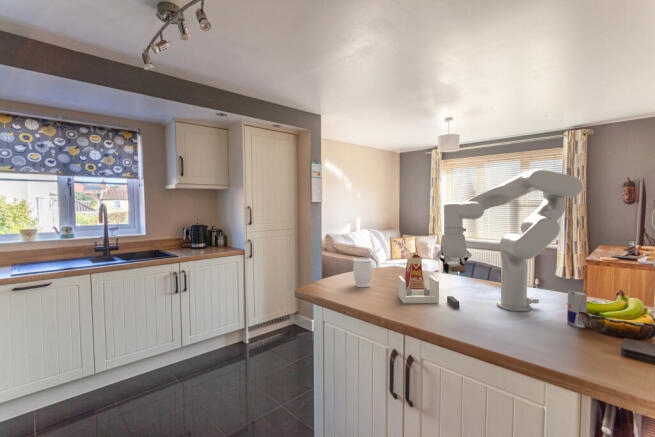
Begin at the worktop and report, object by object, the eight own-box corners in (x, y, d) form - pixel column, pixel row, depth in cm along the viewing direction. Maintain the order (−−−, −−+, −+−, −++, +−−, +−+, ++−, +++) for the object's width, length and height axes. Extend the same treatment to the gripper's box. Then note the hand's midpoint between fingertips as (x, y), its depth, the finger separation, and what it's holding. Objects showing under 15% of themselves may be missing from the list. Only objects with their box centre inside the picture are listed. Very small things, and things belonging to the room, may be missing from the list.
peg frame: (431, 295, 151) (431, 275, 150) (438, 303, 140) (438, 281, 139) (398, 295, 151) (398, 275, 151) (403, 303, 140) (403, 281, 140)
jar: (350, 284, 175) (350, 257, 174) (367, 282, 178) (366, 256, 177) (357, 289, 165) (357, 261, 164) (375, 287, 168) (375, 259, 167)
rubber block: (452, 302, 140) (452, 296, 140) (459, 308, 132) (459, 301, 132) (447, 302, 140) (447, 296, 140) (453, 308, 132) (453, 301, 132)
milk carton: (425, 290, 160) (425, 252, 159) (407, 290, 160) (407, 252, 159) (420, 286, 169) (420, 249, 168) (403, 286, 169) (403, 249, 168)
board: (442, 266, 141) (442, 261, 141) (455, 265, 141) (455, 261, 141) (452, 271, 129) (452, 267, 129) (465, 271, 129) (465, 266, 129)
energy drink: (567, 321, 116) (568, 289, 116) (585, 324, 113) (586, 292, 112) (566, 325, 112) (567, 293, 112) (586, 329, 109) (587, 295, 108)
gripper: (469, 230, 138) (470, 270, 139) (430, 231, 138) (431, 270, 139) (477, 231, 130) (477, 273, 131) (436, 232, 131) (436, 274, 132)
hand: (453, 271), depth 135 cm, fingers closed on board, 5 cm apart
